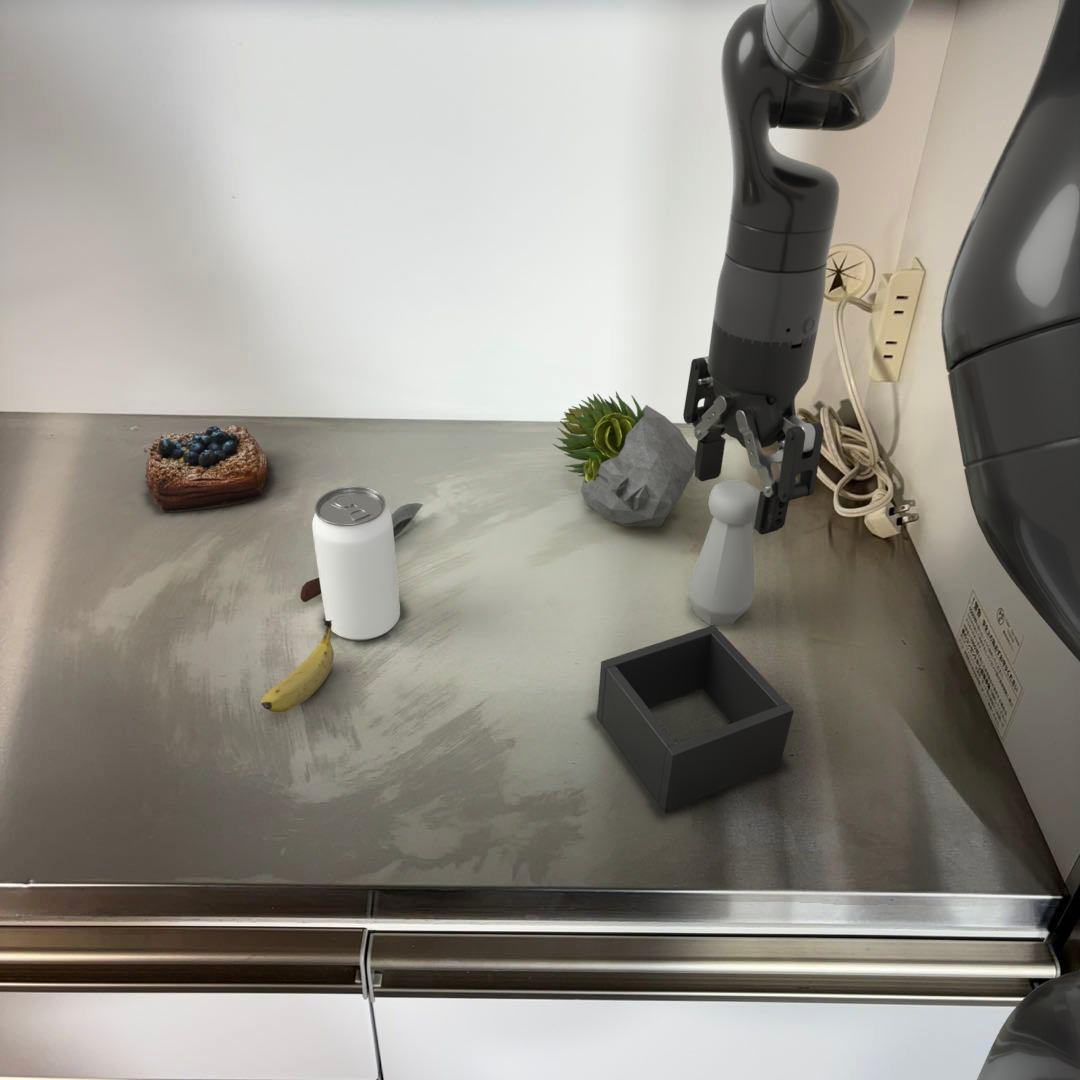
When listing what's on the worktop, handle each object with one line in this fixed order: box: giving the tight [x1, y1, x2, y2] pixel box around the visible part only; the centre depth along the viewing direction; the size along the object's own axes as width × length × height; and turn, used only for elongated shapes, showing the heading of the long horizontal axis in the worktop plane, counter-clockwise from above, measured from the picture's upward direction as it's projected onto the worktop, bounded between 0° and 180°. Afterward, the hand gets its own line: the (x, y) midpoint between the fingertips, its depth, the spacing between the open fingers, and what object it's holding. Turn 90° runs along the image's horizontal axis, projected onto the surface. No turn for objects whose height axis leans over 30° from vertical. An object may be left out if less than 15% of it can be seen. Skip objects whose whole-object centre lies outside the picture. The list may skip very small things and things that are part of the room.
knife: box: [300, 502, 424, 603], centre depth 91 cm, size 18×2×3 cm, turn 151°
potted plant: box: [552, 391, 697, 528], centre depth 97 cm, size 12×13×15 cm
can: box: [311, 485, 401, 642], centre depth 81 cm, size 6×6×12 cm
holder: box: [596, 625, 795, 814], centre depth 72 cm, size 10×10×6 cm
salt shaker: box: [687, 479, 761, 626], centre depth 83 cm, size 6×6×13 cm
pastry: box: [145, 424, 269, 513], centre depth 101 cm, size 11×12×6 cm
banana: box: [260, 618, 335, 713], centre depth 76 cm, size 10×2×4 cm, turn 162°
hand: (736, 503), depth 80 cm, fingers open, 8 cm apart
